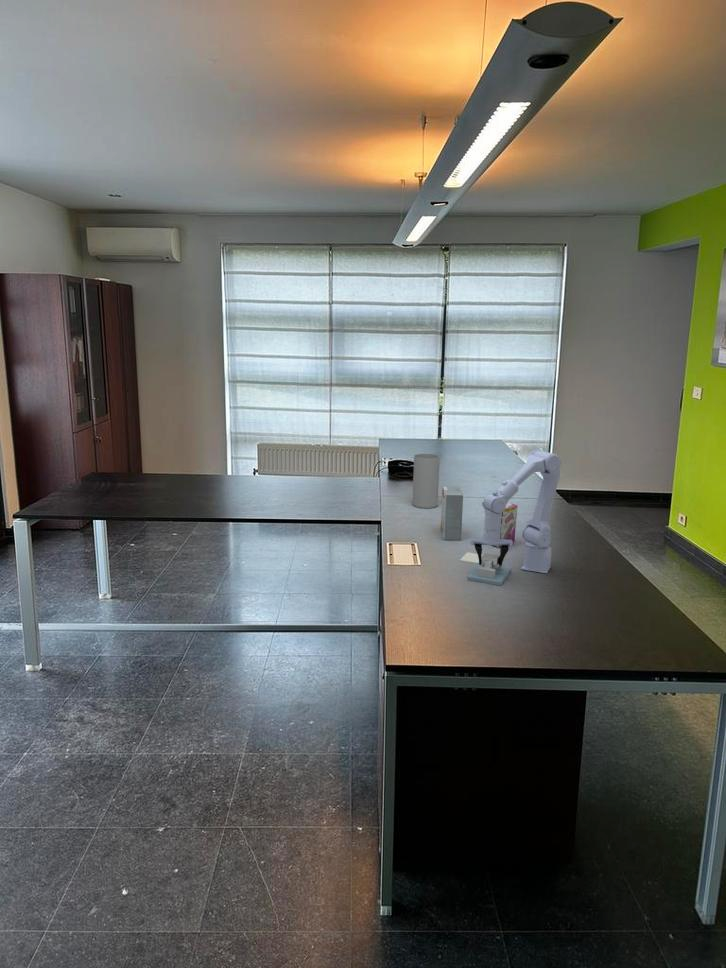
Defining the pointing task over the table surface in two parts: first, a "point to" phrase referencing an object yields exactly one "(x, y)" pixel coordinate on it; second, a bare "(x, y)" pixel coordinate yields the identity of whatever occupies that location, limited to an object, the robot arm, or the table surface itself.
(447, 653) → the table surface
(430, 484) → the cylinder vase
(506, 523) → the candy bar box
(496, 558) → the grey notched block
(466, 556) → the cream mat
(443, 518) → the hard drive box
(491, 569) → the bench vise
